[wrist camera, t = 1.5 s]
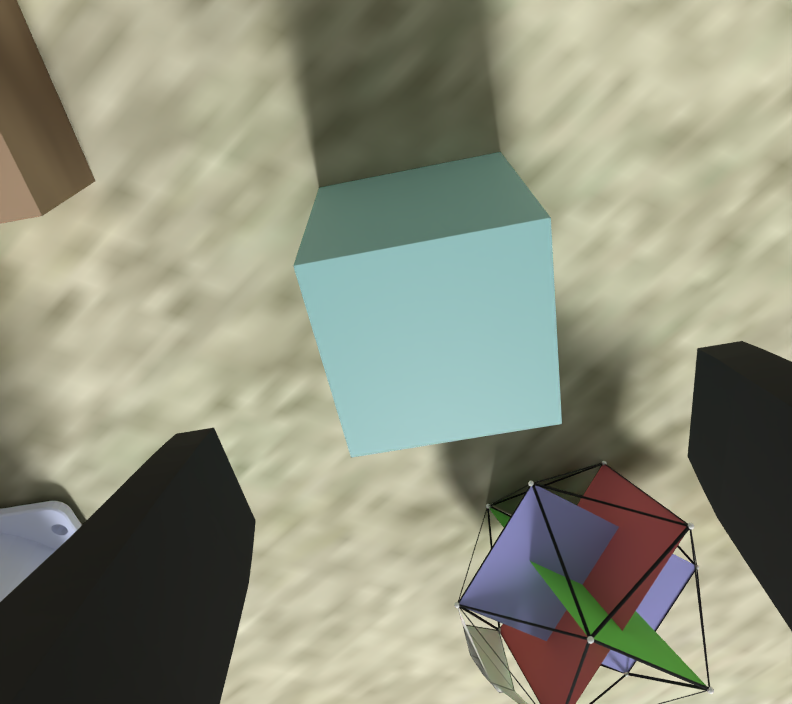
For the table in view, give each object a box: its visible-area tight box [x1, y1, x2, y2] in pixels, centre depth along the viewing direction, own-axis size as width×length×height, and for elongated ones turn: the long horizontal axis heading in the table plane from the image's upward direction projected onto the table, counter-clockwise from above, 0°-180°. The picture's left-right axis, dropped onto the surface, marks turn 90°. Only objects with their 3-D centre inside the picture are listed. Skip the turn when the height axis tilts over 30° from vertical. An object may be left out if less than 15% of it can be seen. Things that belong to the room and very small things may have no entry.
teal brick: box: [294, 152, 562, 457], centre depth 13 cm, size 4×4×5 cm
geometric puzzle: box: [455, 461, 714, 704], centre depth 18 cm, size 7×7×8 cm
